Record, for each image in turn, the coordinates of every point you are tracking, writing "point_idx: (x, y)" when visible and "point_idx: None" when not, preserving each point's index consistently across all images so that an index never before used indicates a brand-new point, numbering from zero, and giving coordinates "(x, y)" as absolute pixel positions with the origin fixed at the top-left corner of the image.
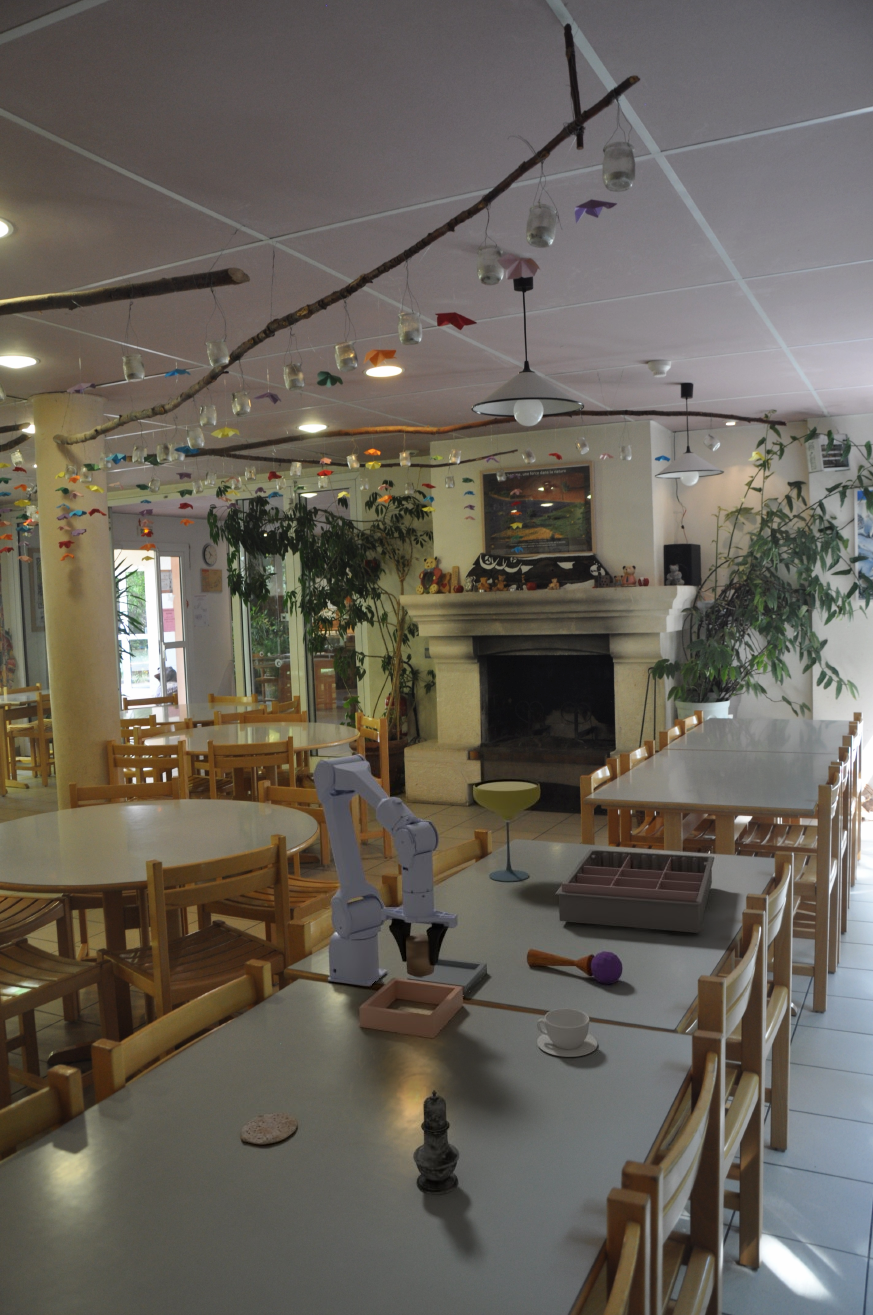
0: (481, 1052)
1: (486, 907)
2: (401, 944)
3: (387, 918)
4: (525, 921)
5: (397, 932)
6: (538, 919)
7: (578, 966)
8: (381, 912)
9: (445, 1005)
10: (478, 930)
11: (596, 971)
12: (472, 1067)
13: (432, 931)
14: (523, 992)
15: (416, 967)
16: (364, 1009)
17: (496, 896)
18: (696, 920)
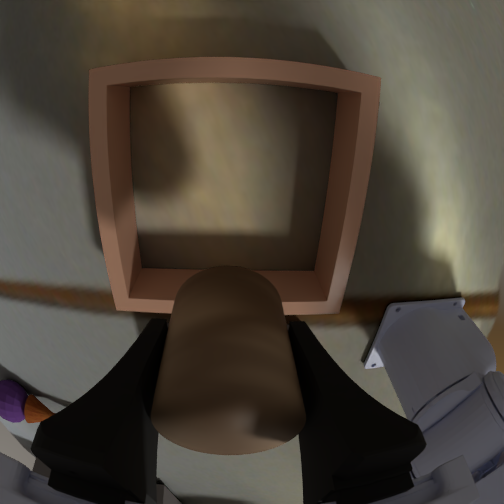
0: (4, 75)
1: (267, 491)
2: (322, 378)
3: (433, 478)
4: (208, 484)
5: (362, 431)
6: (196, 486)
7: (43, 409)
8: (474, 490)
9: (93, 179)
10: (254, 471)
11: (8, 392)
12: (8, 13)
13: (56, 451)
14: (70, 353)
15: (218, 289)
16: (360, 73)
17: (266, 499)
18: (35, 464)
